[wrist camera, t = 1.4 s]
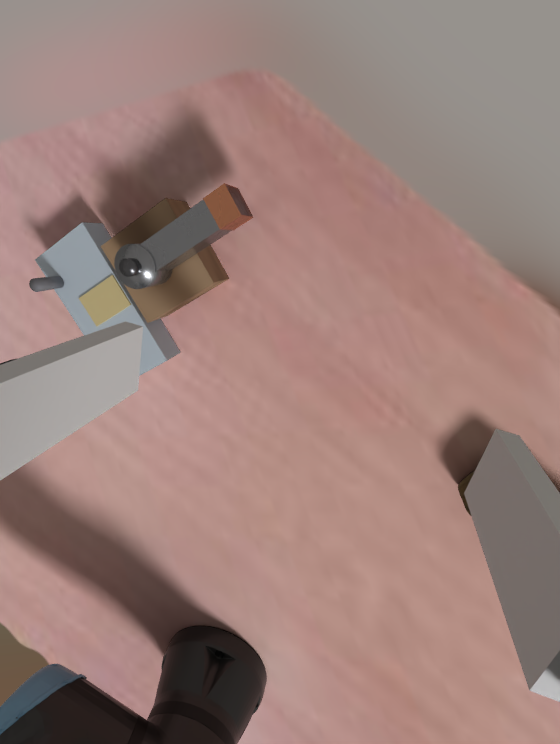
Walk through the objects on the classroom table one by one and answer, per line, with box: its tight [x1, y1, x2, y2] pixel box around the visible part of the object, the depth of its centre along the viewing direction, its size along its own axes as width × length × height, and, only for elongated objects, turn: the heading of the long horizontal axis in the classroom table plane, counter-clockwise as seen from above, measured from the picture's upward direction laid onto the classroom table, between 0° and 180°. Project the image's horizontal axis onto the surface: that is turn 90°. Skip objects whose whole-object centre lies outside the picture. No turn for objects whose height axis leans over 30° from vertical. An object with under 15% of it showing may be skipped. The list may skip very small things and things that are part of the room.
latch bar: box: [114, 183, 253, 289], centre depth 32 cm, size 12×4×4 cm, turn 120°
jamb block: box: [101, 198, 229, 323], centre depth 37 cm, size 8×8×4 cm
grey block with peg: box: [29, 222, 181, 376], centre depth 39 cm, size 7×15×6 cm, turn 30°
